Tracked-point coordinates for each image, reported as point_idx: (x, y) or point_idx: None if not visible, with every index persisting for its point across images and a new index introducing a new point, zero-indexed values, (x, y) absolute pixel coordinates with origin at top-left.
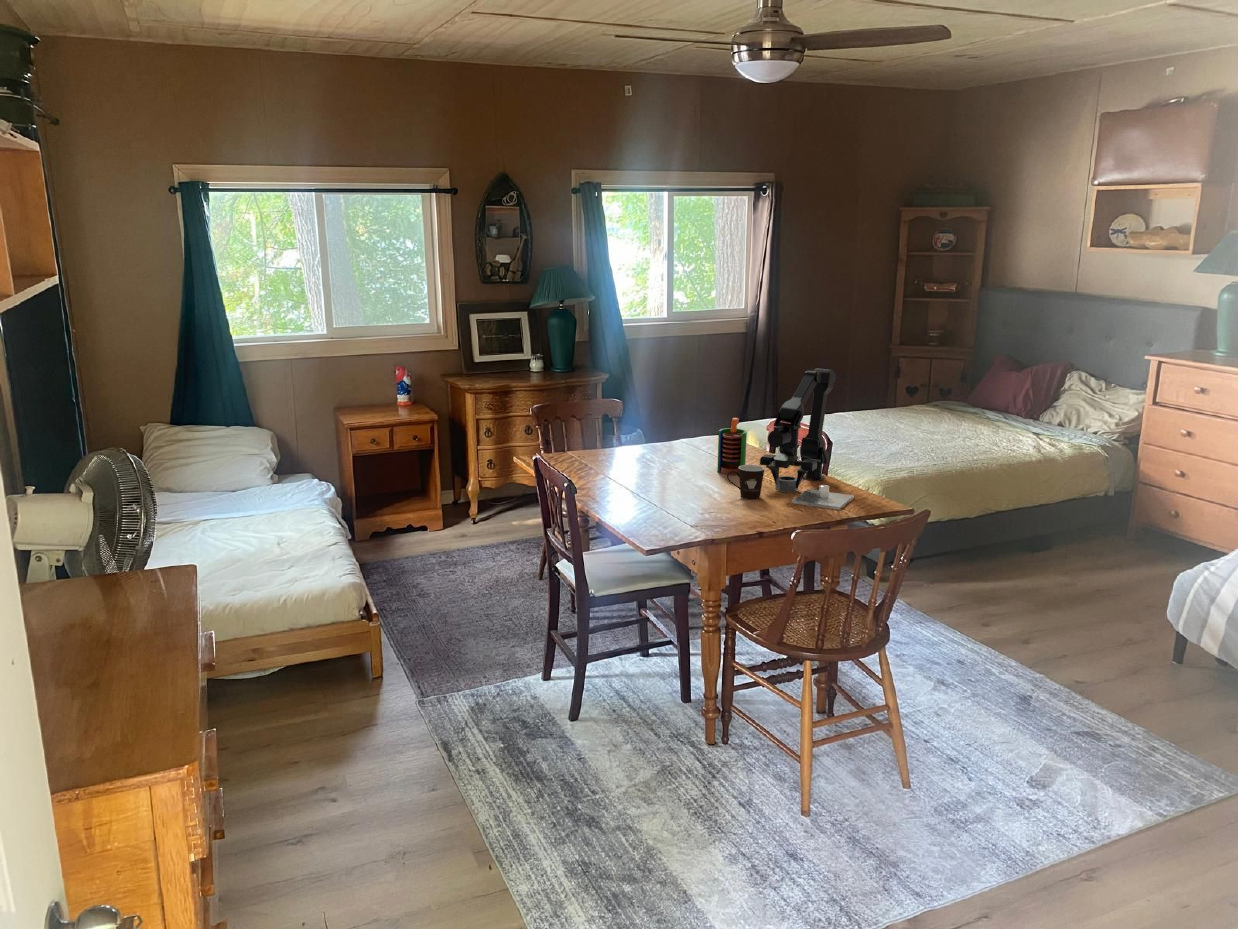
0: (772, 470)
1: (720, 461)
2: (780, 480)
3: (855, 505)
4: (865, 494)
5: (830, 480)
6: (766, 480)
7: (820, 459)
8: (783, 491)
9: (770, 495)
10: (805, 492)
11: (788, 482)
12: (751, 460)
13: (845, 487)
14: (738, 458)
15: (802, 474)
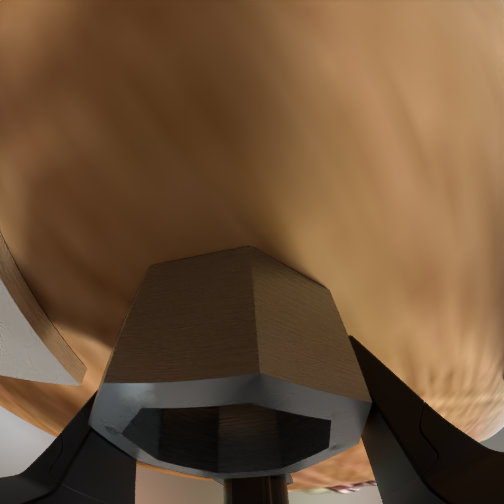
0: (472, 472)
1: None
2: (246, 370)
3: None
4: (3, 406)
5: (192, 478)
6: (436, 385)
7: None
8: (195, 260)
9: (233, 2)
10: (5, 305)
11: (108, 370)
12: (467, 433)
13: None
14: None
15: (21, 478)
